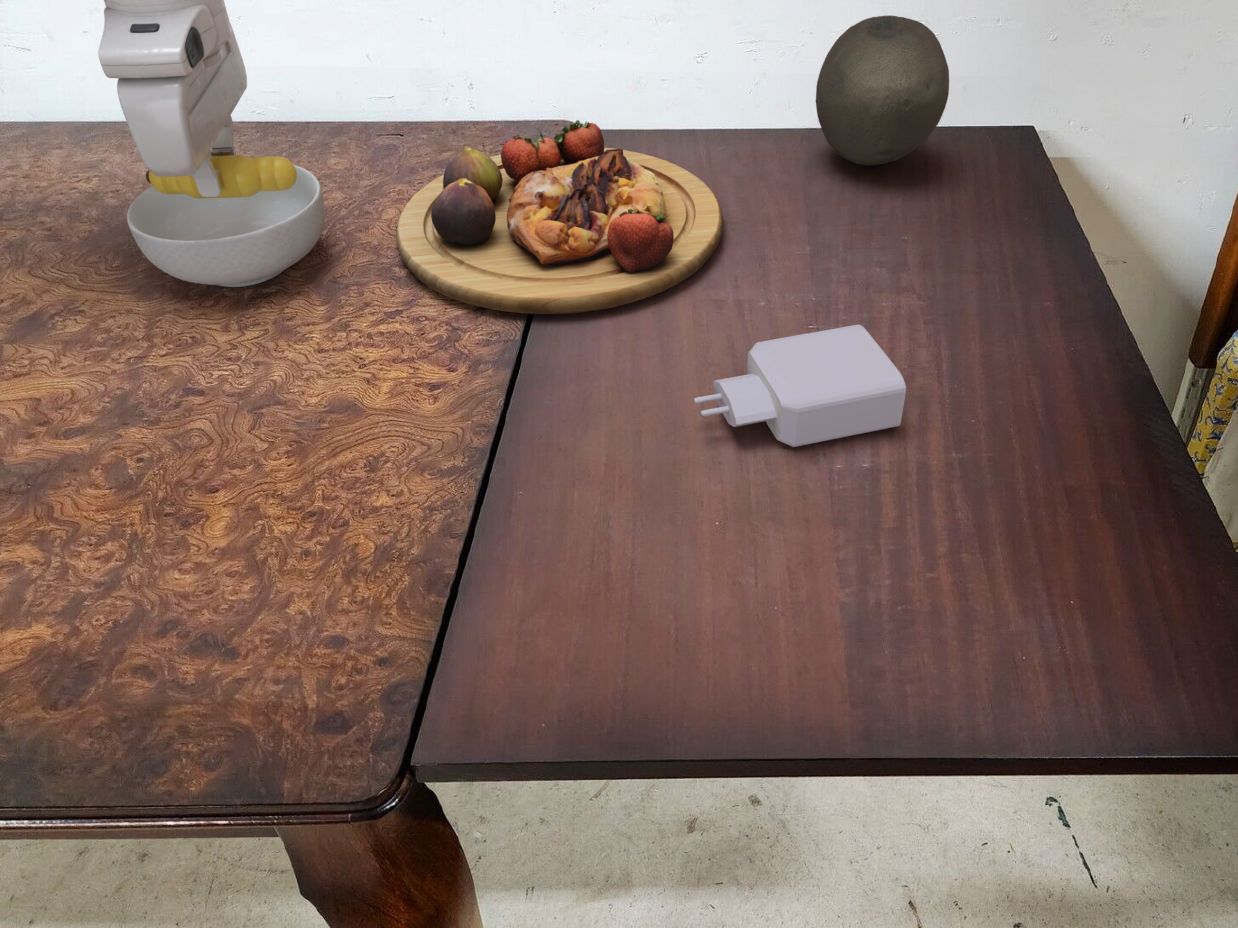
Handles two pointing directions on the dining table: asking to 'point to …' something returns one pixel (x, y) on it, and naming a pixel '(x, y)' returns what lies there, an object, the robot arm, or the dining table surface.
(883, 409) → the charger
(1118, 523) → the dining table surface
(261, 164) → the yellow lumpy cylinder
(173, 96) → the robot arm
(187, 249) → the cereal bowl
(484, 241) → the wooden plate
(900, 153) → the kiwi fruit
